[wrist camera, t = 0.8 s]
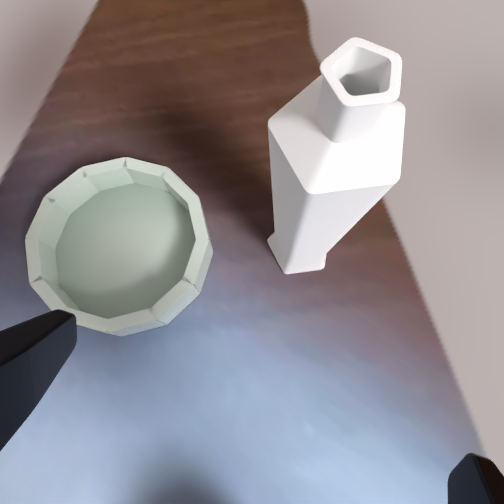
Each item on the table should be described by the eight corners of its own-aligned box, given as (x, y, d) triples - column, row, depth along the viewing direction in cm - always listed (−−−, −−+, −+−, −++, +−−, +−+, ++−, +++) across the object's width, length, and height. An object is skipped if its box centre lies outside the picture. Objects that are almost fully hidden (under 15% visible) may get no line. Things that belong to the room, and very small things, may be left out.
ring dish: (181, 353, 23) (172, 352, 20) (22, 307, 23) (-5, 300, 21) (230, 199, 25) (227, 182, 23) (86, 163, 26) (69, 142, 24)
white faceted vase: (248, 261, 24) (240, 106, 10) (281, 203, 25) (316, -13, 11) (316, 296, 24) (413, 184, 9) (346, 234, 25) (474, 49, 10)
